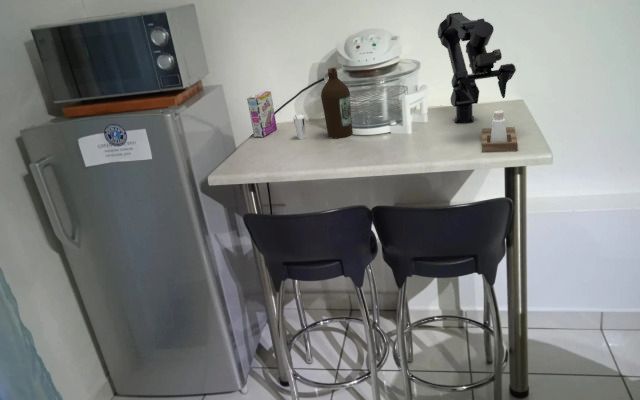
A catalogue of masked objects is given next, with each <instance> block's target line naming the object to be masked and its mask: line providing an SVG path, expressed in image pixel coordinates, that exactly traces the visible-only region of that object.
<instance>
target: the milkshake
mask: <svg viewBox="0 0 640 400" xmlns="http://www.w3.org/2000/svg"><path fill="white" fill-rule="evenodd" d="M292 120H293V123H294V127H295V130H296V135H297V139H298V140H304V139H307V126H306V115H304V114H300V113H299V114H295V115H294V116H293V118H292Z"/></svg>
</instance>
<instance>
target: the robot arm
mask: <svg viewBox="0 0 640 400" xmlns="http://www.w3.org/2000/svg"><path fill="white" fill-rule="evenodd" d="M494 29H495V28H494V25H492V23H490V22H489V21H485V18H478V19H474V20H473V19H472V20H471V19H470V18H468V17H466V16H465V15H463V13H462V12H460V11H459V12H458V11H457V12H451V13H449V14H447V15H446V18H445V19H443V20H442V22H440V23H439V26H438V29H437V38H438V39H439V40H440V43H441V45H442V46H444V48H446V49H447V53H448V57H449V61H450V66H451V69H452V73H453V75H452V78H451V87H452V93H451V94H450V95H451V96H450V99H449V100H450V104H451V105H452V107H454V108H455V112H456V113H455V114H456V117H455V119H454V123H455V124H460V123H474V118H475V117H474V114H473V105H474V104H476V105H477V104H478V102H479V96H480V89H479V87H478V86H477V83H476V80H481V79H488V78H489V79H490V78H497V80H498V82H497V85H498V89H499V92H500V95H501V97H502V99H505V98H506V92H507V90H506V89H507V83H508V82H509V80H512V78H513V76H514V75H515V74H516V71H517V69H516V66H515V64H514V63H505V64H501V65H500V66H499V68H498V69H495V70H492V69H494V67H495V64H496V63H497V61H500V60H502V57H503V56H502V51H501V49H500V48H496V49H493V50H492V52H491V51H490V52H488V51H487V48H486V46H488V44H489V42H490V39H491V37H492V35H493V33H494ZM460 42H466V43H465V44H466V45H465V53H466V55H467V57H468V62H469V64H468V65H469V66H468V67H469V68H470V69H471V73H468V70H467V66H466V65H467V64H466V62H465V58H464V55H463V51H462V47H461V44H460Z"/></svg>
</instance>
